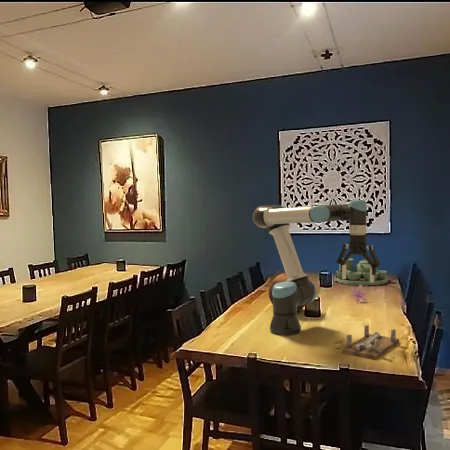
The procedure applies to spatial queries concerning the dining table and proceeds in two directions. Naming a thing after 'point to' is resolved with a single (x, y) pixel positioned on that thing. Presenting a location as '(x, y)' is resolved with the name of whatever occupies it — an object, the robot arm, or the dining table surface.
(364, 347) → the adjustable wrench
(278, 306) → the robot arm
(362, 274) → the tea set
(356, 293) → the lily
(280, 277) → the pottery
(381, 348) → the rack
